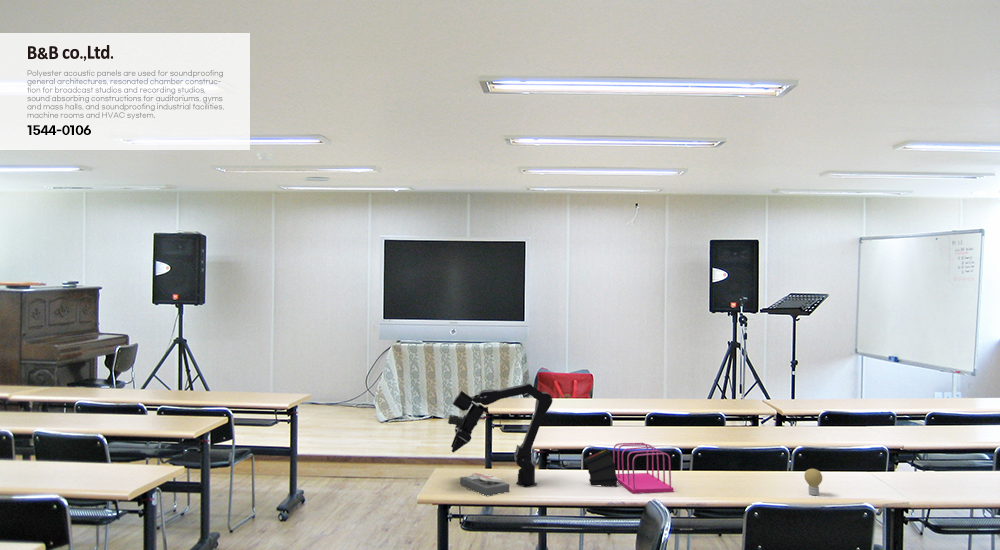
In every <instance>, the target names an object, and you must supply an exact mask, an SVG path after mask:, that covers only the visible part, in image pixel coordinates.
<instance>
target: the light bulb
mask: <svg viewBox="0 0 1000 550" xmlns="http://www.w3.org/2000/svg"><path fill="white" fill-rule="evenodd" d="M804 480H805V482H806V483H807V484H808V487H807V488H808V494H809V495H811V496H818V495H820V488H819V485H821V483H822V482H823V475H822V472H821V471H820V470H818V469H816V468H809V469H807V470H805V472H804Z"/></svg>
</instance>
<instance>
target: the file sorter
mask: <svg viewBox="0 0 1000 550" xmlns="http://www.w3.org/2000/svg"><path fill="white" fill-rule="evenodd" d="M618 445H620V446H618ZM617 446H618V448H617ZM630 446H632V447H630ZM634 446H636V447H634ZM637 446H638V447H637ZM639 446H640V447H639ZM622 447H627V448H625V449H623V450H622V452H621V471H622V473H620V449H621V448H622ZM616 448H617V473H616V476H617V481H618V482H619V483H620V485H621V484H622V485H623V486H622V485H621V486H622V487H623V488H625V489H626V490H628V491H629V492H631V494H652V493H654V494H655V493H673V492H674V487H672V473H671V469H672V467H671V457H670V454H668V453H666V452H664V451H662V450H660V449H657V448H656V447H654V446H652V445H651V444H648V443H644V442H620V443H616V444H615V445H614V446H613V448H612V460H613V462H614V464H615V463H616V462H615V460H616V459H615V458H616V455H615V451H616ZM639 449H640V450H639ZM641 449H642V450H641ZM643 449H646V450H643ZM650 449H651V450H650ZM628 450H629V451H630V450H633V451H630V452H629V453H628V454H627V459H626V462H627V463H626V467H627V473H625V470H624V469H625V467H624V454H625V452H626V451H628ZM635 450H636V451H635ZM649 452H650V453H649ZM655 452H656V453H655ZM634 453H638V454H635V455H634V456H633V458H632V473H630V455H631V454H634ZM639 453H640V454H639ZM655 455H656V466H657V467H656V469H657V470H656V471H657V477H656V476H655V475H654V471H655V470H654V456H655ZM659 455H662V472H663V473H662V475H663V477H662V479H660V466H659V465H660V464H659ZM665 455H666V456H667V458H668V478H669V479H668V480H669V481H668V482H669V484H667V483H666V471H665V470H666V469H665V467H666V466H665ZM640 456H641V457H643V456H646V472H639V473H638V472H635V459H636V458H637V457H640ZM649 456H651V473H650V472H649ZM615 466H616V464H615ZM615 466H614V467H615ZM615 468H616V467H615ZM618 482H617V483H618ZM619 483H618V484H619Z"/></svg>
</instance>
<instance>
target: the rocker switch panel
mask: <svg viewBox="0 0 1000 550" xmlns="http://www.w3.org/2000/svg"><path fill="white" fill-rule="evenodd" d="M459 484H460V486H462V487H464V486H465V487H464V488H466V487H467V488H466V489H468V488H469V489H468V490H471V489H472V490H471V491H473V490H474V491H473V492H475V491H477V492H476V493H478V492H479V493H478V494H480V493H481V494H480V495H482V494H484V495H483V496H485V495H486V496H485V497H488V496H487V495H490V496H494V495H493V494H495V495H499V494H498V493H501V494H504V492H506V493H509V492H510V483H508V482H504V481H502V482H493V481H484V480H482V479H480V478H477V477H474V476H472V475H467V476H461V477H459Z"/></svg>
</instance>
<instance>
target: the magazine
mask: <svg viewBox="0 0 1000 550" xmlns="http://www.w3.org/2000/svg"><path fill="white" fill-rule="evenodd" d="M583 460H584V464H585V466H586V467H587V469H588V471H587V472H588V475H589V484H591V485H601V486H600V487H613V486H616V487H618V485H617V483H618V482H617V476H616V474H617V472H616V467H614V466H616V464H614V462H613V456H612V455H611V451H610V450H609V448H603V450H600V451H598V452H596V453H594V454H591V455H589V456H587V457H585V458H584V459H583ZM591 485H590V486H591Z"/></svg>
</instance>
